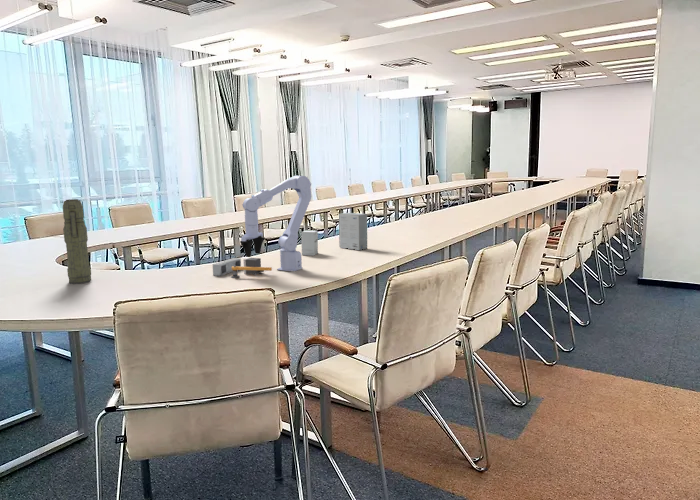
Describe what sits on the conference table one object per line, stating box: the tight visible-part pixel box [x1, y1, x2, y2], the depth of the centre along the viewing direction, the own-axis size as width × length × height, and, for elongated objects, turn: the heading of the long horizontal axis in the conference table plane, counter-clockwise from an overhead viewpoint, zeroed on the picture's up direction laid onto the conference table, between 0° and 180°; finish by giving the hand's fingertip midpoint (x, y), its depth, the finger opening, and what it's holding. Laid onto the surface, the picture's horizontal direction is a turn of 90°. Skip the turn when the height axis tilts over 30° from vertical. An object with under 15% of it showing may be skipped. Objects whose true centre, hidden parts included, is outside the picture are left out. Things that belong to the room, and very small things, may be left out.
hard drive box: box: [338, 212, 368, 251], centre depth 299 cm, size 16×8×20 cm, turn 49°
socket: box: [212, 257, 242, 277], centre depth 241 cm, size 4×16×5 cm, turn 157°
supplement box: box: [300, 230, 319, 256], centre depth 283 cm, size 7×7×13 cm
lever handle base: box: [230, 270, 240, 279], centre depth 231 cm, size 4×4×3 cm
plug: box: [243, 257, 265, 275], centre depth 238 cm, size 9×5×6 cm, turn 67°
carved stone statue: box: [62, 198, 92, 285], centre depth 223 cm, size 9×12×35 cm
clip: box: [232, 266, 273, 272], centre depth 229 cm, size 3×18×2 cm, turn 81°
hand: (253, 254), depth 238 cm, fingers open, 7 cm apart
